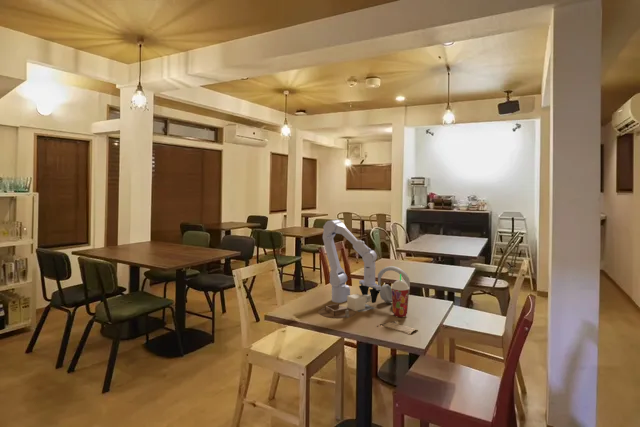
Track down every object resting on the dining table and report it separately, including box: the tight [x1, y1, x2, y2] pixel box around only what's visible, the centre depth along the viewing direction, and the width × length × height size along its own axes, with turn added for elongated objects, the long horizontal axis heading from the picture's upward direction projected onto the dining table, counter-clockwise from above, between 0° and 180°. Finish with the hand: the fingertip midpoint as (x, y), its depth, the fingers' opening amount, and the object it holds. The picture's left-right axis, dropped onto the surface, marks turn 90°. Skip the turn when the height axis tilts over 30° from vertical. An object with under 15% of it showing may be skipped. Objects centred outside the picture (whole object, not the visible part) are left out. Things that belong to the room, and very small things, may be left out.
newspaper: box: [379, 321, 417, 335], centre depth 172 cm, size 24×7×2 cm, turn 45°
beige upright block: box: [346, 293, 372, 312], centre depth 193 cm, size 12×6×6 cm, turn 122°
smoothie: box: [391, 274, 410, 318], centre depth 184 cm, size 8×8×20 cm
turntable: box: [318, 303, 357, 320], centre depth 186 cm, size 18×18×4 cm
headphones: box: [377, 265, 411, 304], centre depth 202 cm, size 18×8×20 cm, turn 50°
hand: (369, 300), depth 196 cm, fingers open, 6 cm apart
